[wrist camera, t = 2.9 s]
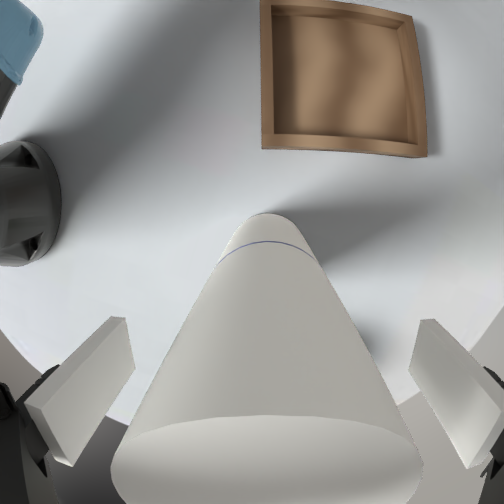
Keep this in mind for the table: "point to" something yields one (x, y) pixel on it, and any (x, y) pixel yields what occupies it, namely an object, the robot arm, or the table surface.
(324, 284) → the cylindrical container
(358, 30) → the tray
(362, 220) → the table surface
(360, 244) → the table surface
